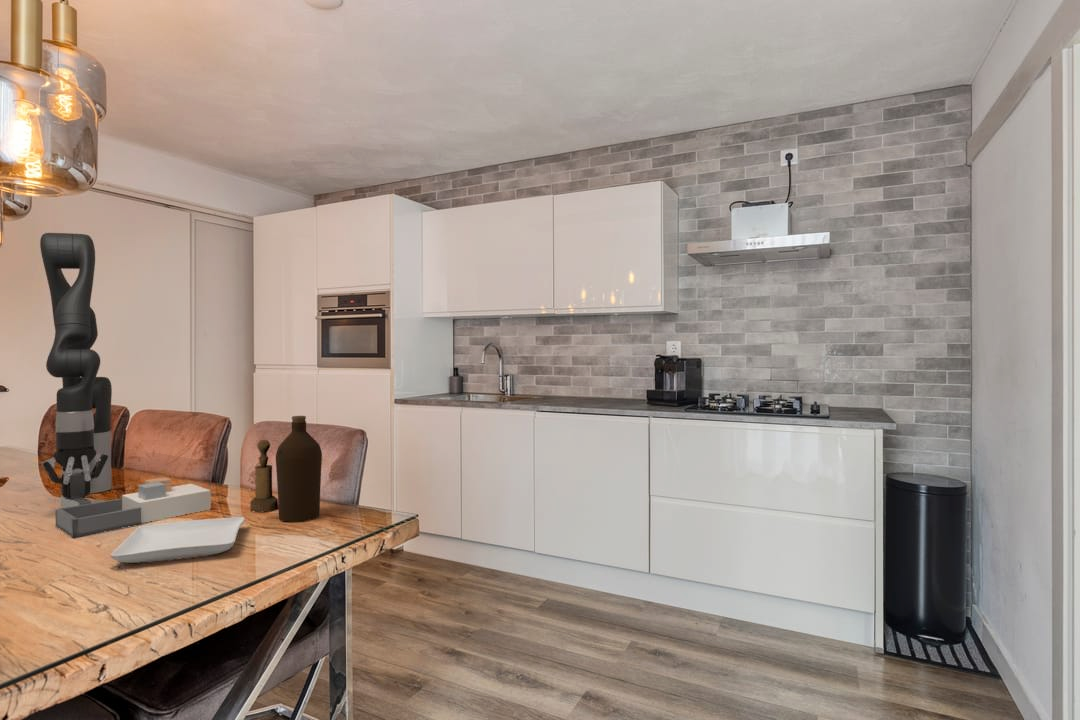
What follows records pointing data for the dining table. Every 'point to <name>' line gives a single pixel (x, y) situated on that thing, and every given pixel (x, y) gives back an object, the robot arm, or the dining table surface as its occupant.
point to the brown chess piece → (263, 482)
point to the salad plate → (178, 540)
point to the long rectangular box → (170, 503)
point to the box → (96, 518)
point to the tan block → (161, 480)
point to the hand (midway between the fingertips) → (76, 496)
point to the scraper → (76, 491)
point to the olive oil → (298, 474)
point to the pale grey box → (151, 491)
